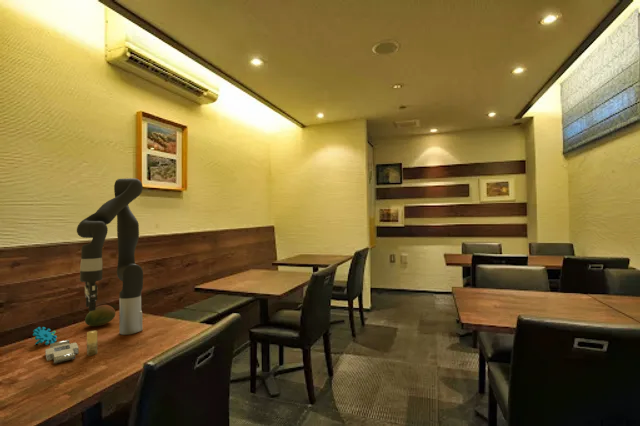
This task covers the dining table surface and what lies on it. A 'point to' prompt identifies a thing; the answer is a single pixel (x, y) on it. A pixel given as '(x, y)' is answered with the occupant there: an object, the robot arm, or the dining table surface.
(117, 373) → the dining table surface
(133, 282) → the robot arm
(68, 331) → the dining table surface
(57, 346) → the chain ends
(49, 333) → the gear
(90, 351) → the pin
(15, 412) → the dining table surface
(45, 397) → the dining table surface
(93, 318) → the fruit
